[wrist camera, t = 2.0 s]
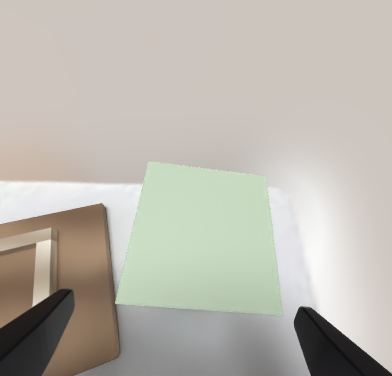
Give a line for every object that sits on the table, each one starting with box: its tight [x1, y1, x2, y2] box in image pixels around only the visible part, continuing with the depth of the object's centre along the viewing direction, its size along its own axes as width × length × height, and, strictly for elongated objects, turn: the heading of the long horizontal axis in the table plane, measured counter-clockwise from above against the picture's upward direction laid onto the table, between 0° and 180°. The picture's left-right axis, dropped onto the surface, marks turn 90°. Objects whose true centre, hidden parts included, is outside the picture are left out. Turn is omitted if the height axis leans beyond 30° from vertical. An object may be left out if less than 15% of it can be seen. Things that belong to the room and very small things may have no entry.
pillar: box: [115, 161, 283, 316], centre depth 12 cm, size 4×4×13 cm
